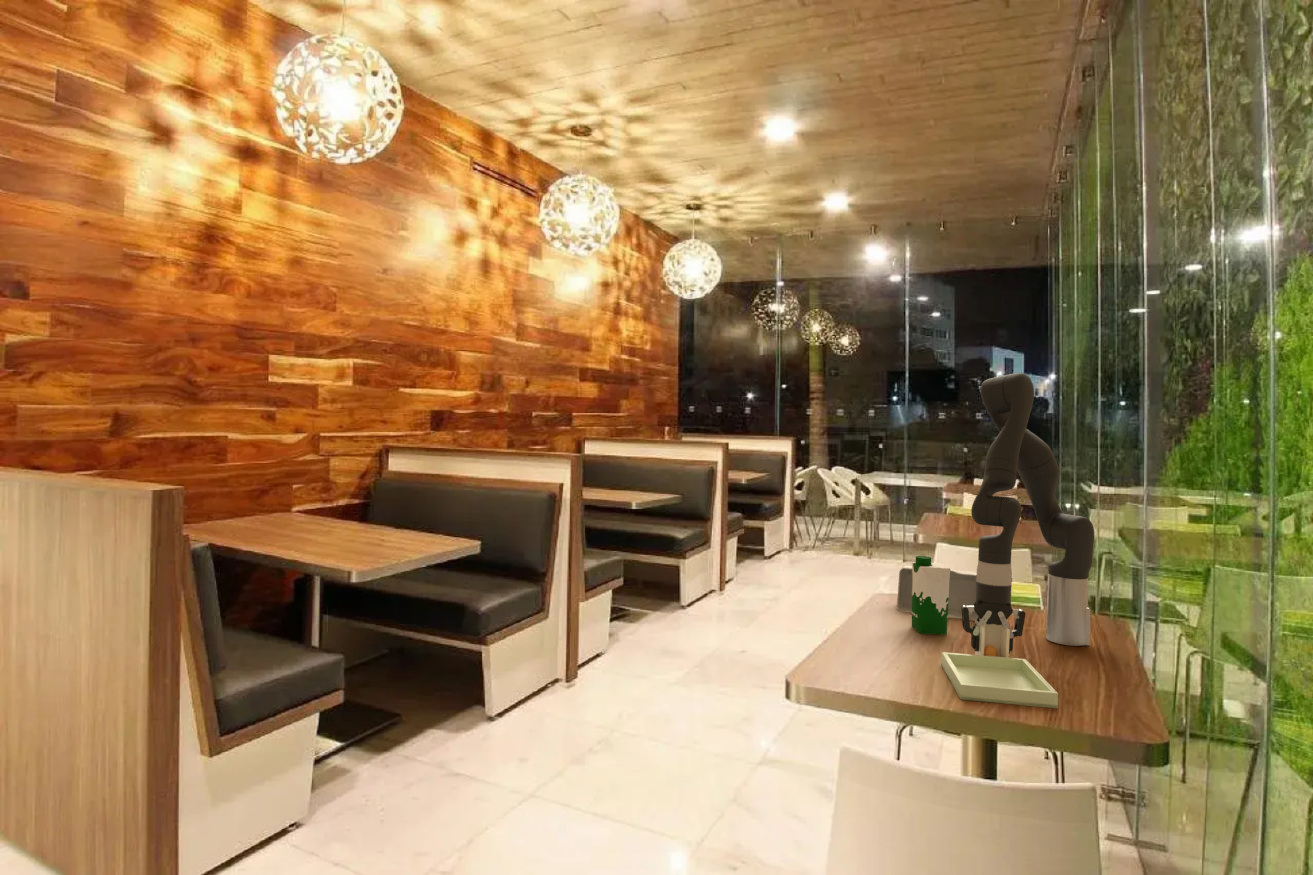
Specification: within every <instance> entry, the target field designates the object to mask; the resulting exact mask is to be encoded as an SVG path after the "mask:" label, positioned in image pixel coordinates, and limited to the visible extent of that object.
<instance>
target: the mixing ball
mask: <svg viewBox="0 0 1313 875" xmlns="http://www.w3.org/2000/svg"><path fill="white" fill-rule="evenodd" d="M984 655H985V656H995V657H996V656H997V650H996V648H995V647H993V646H987V647H985V648H984Z"/></svg>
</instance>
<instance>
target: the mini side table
mask: <svg viewBox="0 0 1313 875" xmlns="http://www.w3.org/2000/svg"><path fill="white" fill-rule="evenodd" d="M982 623H983V622H982ZM1010 629H1011V628H1010ZM1010 629H1009V628H1005V629H1004V628H1003V627H1002V626H1001V625H995V624H985V625H984V626H981V627H980V632H979V634H978V635H979V651H975V650H974V655H982V656H985V655H984V648H985V647H987V646H993V647H995V648H996V650H997V656H996V657H1007V658H1010V654H1009V638H1010Z"/></svg>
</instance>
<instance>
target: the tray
mask: <svg viewBox="0 0 1313 875" xmlns="http://www.w3.org/2000/svg"><path fill="white" fill-rule="evenodd" d="M940 659H941V660H940V661H941V664H940V665H941V667H942V669H943V671H944V672H945V674H946V676H947V677H948V679H949V681H950V683H951V684H952V687H953V689H954V690H955V691H956V694H957V695H958V697H959V698H960V700H963V701H966V700H967V701H973V702H975V701H976V702H985V703H996V704H1007V705H1017V706H1027V707H1037V708H1039V707H1040V708H1048V709H1058V707H1059V706H1058V704H1059V703H1058V702H1059V692H1057V691H1056V689H1054V687H1052V685H1051V684H1050V683H1049V682H1048V681H1047V680H1046V679H1045V678H1044V677H1043V676H1042V675H1041V674H1040V673H1039V672H1038V671H1037V669H1036V668H1034V666H1033V665H1032V664H1031V663H1030V662H1029V661H1028V660H1027V659H1026V658H1017V657H1009V658H1007V657H995V656H982V655H975V654H971V653H970V654H969V653H957V652H945V651H943V652H941V658H940Z"/></svg>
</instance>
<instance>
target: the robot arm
mask: <svg viewBox="0 0 1313 875" xmlns="http://www.w3.org/2000/svg"><path fill="white" fill-rule="evenodd" d="M980 396H981V400H982V403H983V406H984V408H985V410H986V411H987V413H988V415H989V417H990V419H991V421H992V422H993V423H994V426H995V427H996V428H997V431H998V432H999V433H998V435H997V436H996V437H995V439H994V440H993V442H992V443H991V445H990V447H989V448H988V451H987V454H986V457H985V463H984V464H985V465H984V472H983V473H984V474H983V477H982V478H983V479H982V482H981V484H980V488H979V490H978V492H977V494H976V496H975V498H974V500H973V503H972V506H971V511H970V512H971V513H970V514H971V518H972V519H973V521H974V522H975V523H976V524H978V525H981V526H992V527H1002V531H1001V532H1000V533H997V534H992V535H991V534H990V535H989V534H988V535H984V536H981V537H980V538H979V540H978V560H977V566H976V572H977V578H976V601H975V604H974V605H973V606H965V605H962V606H961V613H962V619H961V622H962V629H963V630H964V632H966V633H969V634H971V635H970V645H971V648H972V649H973V650H974V652H975V651H979V635H978V634H979V632H980V627H981V626H984V625H985V624H995V625H1001V626H1002V627H1003V628H1004V629H1005V628H1009V629H1010V638H1009V655H1010V653H1011V652H1013V650H1014V649H1013V648H1014V638H1016V637H1022V636H1023V631H1024V625H1025V620H1026V619H1025V618H1026V612H1025V611H1024V610H1023V609H1022V608H1018V609H1017V608H1013V607H1012V583H1013V577H1012V575H1013V573H1012V551H1013V548H1012V547H1013V540H1014V537H1015V533H1016V531H1017V527H1018V525H1019V523H1020V519H1021V516H1022V510H1023V509H1022V505H1021V503H1020V502H1019V501H1018V499H1016V498H1015V497H1010V496H997V495H994V494H996V493H1000V492H1005V491H1011V490H1013V489H1014V488H1015V487H1016V482H1017V475H1019V478H1020V480H1021V481H1022V483H1023V485H1024V488H1025V490H1026V492H1027V494H1028V497H1029V499H1030V503H1031V504H1032V508H1033V510H1034V513H1035V516H1036V520H1037V522H1038V526H1039V529H1040V531H1041V532H1040V533H1041V535H1042V538H1043V539H1044V541H1045V542H1046V543H1047V544H1048V545H1049V546H1051V547H1054V548H1057V549H1062V550H1064V551H1065V552H1064V556H1063V558H1062V559H1061V560H1057V561H1052V562H1050V563H1049V565H1048V568H1047V570H1048V572H1047V573H1048V574H1047V597H1046V598H1047V600H1046V601H1047V602H1046V621H1045V622H1046V626H1045V627H1046V628H1045V639H1046V640H1048V641H1050V642H1053V643H1055V644H1060V645H1065V646H1072V647H1073V646H1075V647H1078V646H1090V635H1091V634H1090V629H1091V628H1090V627H1091V608H1090V607H1089V606H1088V605H1089V603H1088V602H1089V601H1088V600H1089V598H1088V597H1089V574H1090V570H1091V568H1092V566H1093V554H1094V546H1095V529H1094V525H1093V522H1092V521H1091V520H1090V519H1089V518H1088V517H1086V516H1083V515H1075V514H1069V513H1068V514H1067V513H1064V512H1063V511H1062V509H1061V508H1060V506H1059V504H1058V501H1057V500H1058V499H1057V497H1056V490H1057V487H1058V484H1059V480H1060V475H1061V474H1060V467H1059V465H1058V462H1057V460H1056V458H1055V456H1054V453H1053V452H1052V449H1051V447H1050V446H1049V445H1048V443H1046V442H1045V441H1044V440H1043V439H1042V438H1040V437H1039V436H1038V435H1036V434H1035V433H1034V432H1032V431H1031V430H1029V429H1028V428H1027V427H1028V423H1029V418H1030V416H1031V411H1032V408H1033V404H1034V398H1035V387H1034V384H1033V382H1032V379H1031V378H1030V377H1029V375H1027V373H1024V372H1015V373H1009V374H1005V375H1000V376H994V377H992V378H988V379H985V380H984V381H983V382H982V383H981V386H980ZM972 611H975V612H976V613H977V615H978V617H977V619H976V620H975V621H974V624H973V625H972V626H971V622H970V621H971V620H969V615H971V614H972ZM1012 614H1013V617H1014V619H1015V621H1014V626H1013V628H1014V629H1011V626H1010V625H1009V624H1010V623H1008V619H1009V618H1010V616H1011V615H1012ZM979 619H980V620H979ZM982 622H983V623H982Z"/></svg>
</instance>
